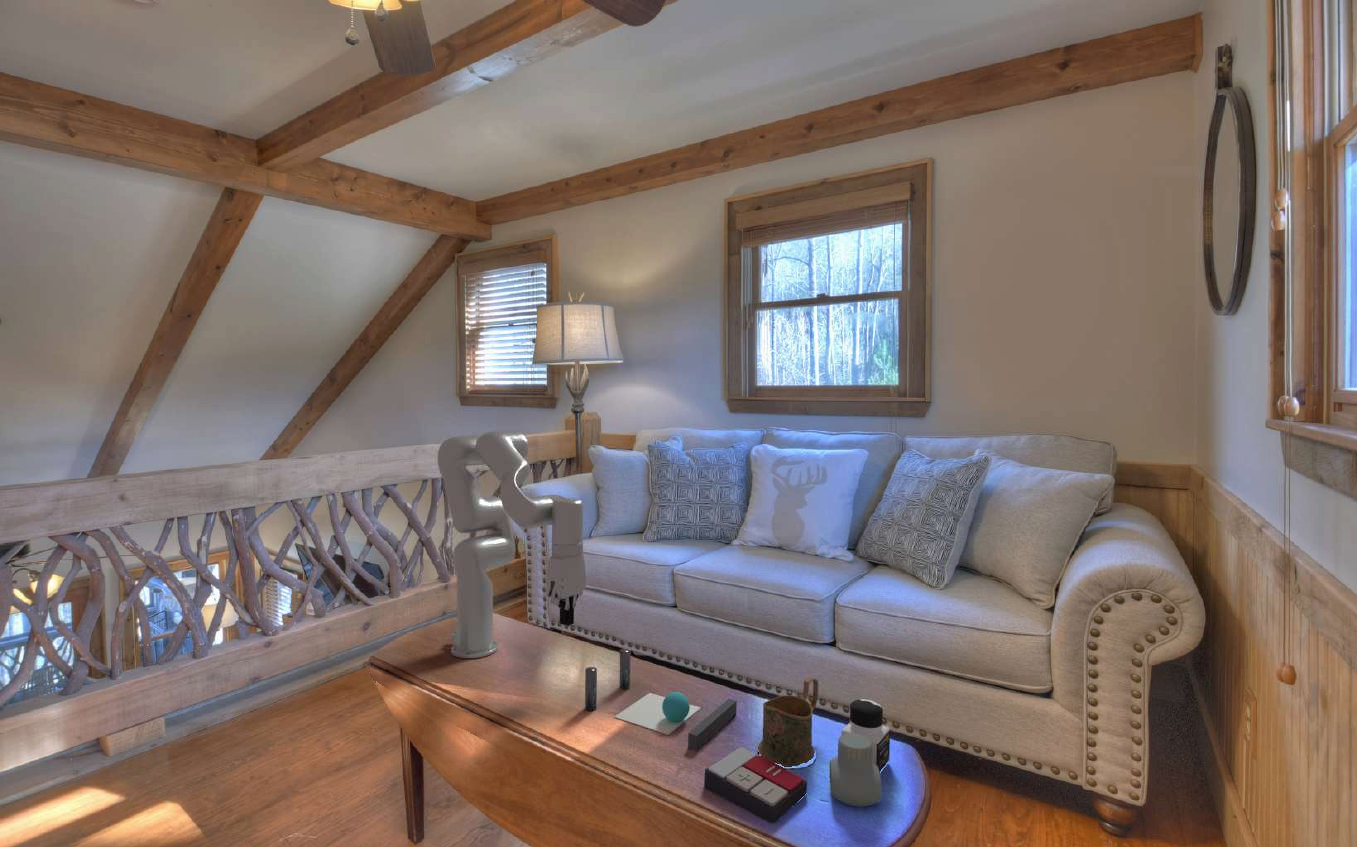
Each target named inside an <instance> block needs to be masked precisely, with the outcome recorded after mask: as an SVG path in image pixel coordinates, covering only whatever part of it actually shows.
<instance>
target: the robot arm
mask: <svg viewBox="0 0 1357 847" xmlns="http://www.w3.org/2000/svg"><path fill="white" fill-rule="evenodd" d="M529 451H530V446H529V442H528V439H527V438H526V437H525V435H524V434H523V433H521V432H519V431H516V430H503V431H501V430H499V431H497V430H496V431H489V432H486V433H483V434H482V435H481V434H479V435H478V434H477V435H457V436H453V437H449V438H447V439H445V440H444V441H443V442H442V443H441V444H440V446H439V448H438V451H437V456H436V458H437V465H438V470H439V473H440V475H441V477H442V480H443V482H444V485H445V489H446V495H447V500H448V504H449V511H450V515H451V519H452V520H451V521H452V523H453V524H452V525H453V527H454V529H455V530H456V532H458V533H460V534H470V533H477V532H484V531H486V532H487V534H485V535H479V536H474V537H469V538H465V539H463V540H461V541H460V542H458V543H457V544H456V545H455V547H454V549H453V556H452V557H453V564H454V568H455V573H456V574H455V575H456V629H454V631H453V632H452V633H450V635H449V637H450V639H453V640H454V644H453V645H452V646H451V647H450V653H451V655H452V656H454V657H456V658H460V659H479V658H483V657H486V656H490V655H493V654H494V653H496V652H497V651H498V650H499V642H498V641H496V640H495V639H493V638H494V637H493V634H494V633H493V631H494V629H493V628H494V627H493V626H494V624H493V623H494V586H493V582H492V581H491V579H490V577H489V575H488V574H487V571H488V570H490V569H495V568H500V567H504V566H506V565H508V564H509V565H510V563H511V562H512V561H513V560H514V558H515V557H516V556H515V555H516V543H515V537H514V532H513V527H512V523H511V520H512V521H513V522H514V523H515V524H516V525H517V526H519V527H520V528H523V529H526V530H527V529H529V530H530V529H535V528H536V529H537V528H540V527H547V526H551V556H550V557H549V559H548V562H547V563H548V564H547V570H546V577H545V578H546V579H545V580H546V581H545V596H546V597H547V598H550V601H549V604H550V605H553V606H557V608H558V609H559V624H560V625H564V626H567V627H569V626H571V625H574V624H575V608H576V606H577V601H578V599H579V598H580V597H582V596H583V594H584V591H585V589H586V582H587V581H586V580H587V579H586V578H587V577H586V572H587V571H586V562H585V556H584V503H583V502H582V500H580V499H578V498H572V497H571V498H570V497H569V498H567V497H565V496H562V495H560V494H548V495H540V496H539V495H538V496H532V497H530V496H529V497H527V496H526V495H525V494H524V493H523V492H522V491H521V489H520V487H519V486H521V485H522V484H523V483H524V482H525V481H526V480H527V478H528V477H529V475H530V472H531V466H530V464H529V462H528V461H527V460H526V459H525V458H526V457H528V454H529ZM483 465H484V466H485V465H486V466H487V468H488V469H489V470H490V471H491V473H493V475H494V476H495V477H496V478H497V480H498V481H499V482H500V489H499V495H500V496H499V497H498V496H495V495H493V496H491V495H490V496H483V497H482V496H481V493H480V489H479V483H478V481H477V479H476V477H475V476H474V475H473V473H472V472H471V471H470V470H469V469H467V467H470V466H483Z"/></svg>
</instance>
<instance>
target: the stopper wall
mask: <svg viewBox="0 0 1357 847" xmlns="http://www.w3.org/2000/svg"><path fill="white" fill-rule="evenodd" d="M737 702H738V701H737V700H734V699H730V698H728V699H726V700H725V701H724V702H723V703H722V704H720V705H719V706H718V707H717V708H716V709H715V710H713V711H712V712H711V713H709V715H707V717H705V718H704V719H703V720H701V722H700V723H698V724H697V725H696V726H695V727H693V728H692V729H691V730H690V731H689V732H687V733H688V734H687V736H688V737H687V738H688V739H687V748H688V749H690V750H694V751H698V750H699V749H700V748H701V747H703V745H704V744H706V742H708V741H709V740H710V739H711V738H712V737H713V736H714V735H716V734H717V733H718V732H719V731H720V730H721V729H722V728H723V727H724V726H725V725H726V724H728V722H729V721H731V720H732V719H733V718H734V717H735V716H736V715H737ZM734 715H735V716H734ZM733 716H734V717H733ZM732 717H733V718H732ZM731 718H732V719H731ZM730 719H731V720H730ZM728 720H729V721H728ZM723 725H724V726H723ZM722 726H723V727H722ZM721 727H722V728H721ZM719 729H720V730H719ZM718 730H719V731H718Z"/></svg>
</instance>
